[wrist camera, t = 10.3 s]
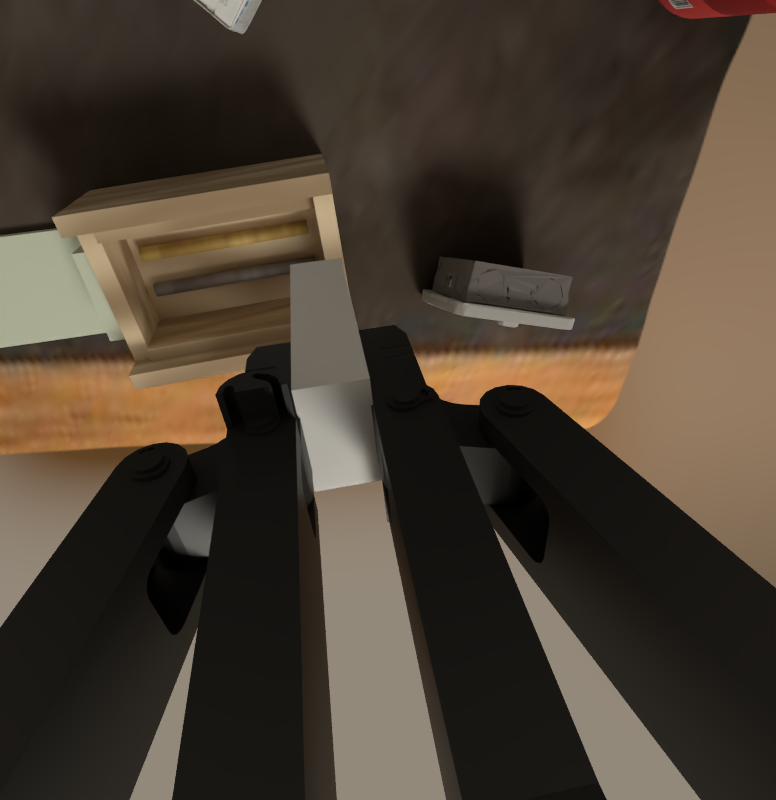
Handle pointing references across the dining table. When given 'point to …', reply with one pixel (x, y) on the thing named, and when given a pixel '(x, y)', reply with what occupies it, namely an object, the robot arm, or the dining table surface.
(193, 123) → the dining table surface
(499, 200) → the dining table surface
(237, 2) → the light bulb box
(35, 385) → the dining table surface
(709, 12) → the canned food
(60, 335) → the lid
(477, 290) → the electrical switch
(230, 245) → the pencil box
